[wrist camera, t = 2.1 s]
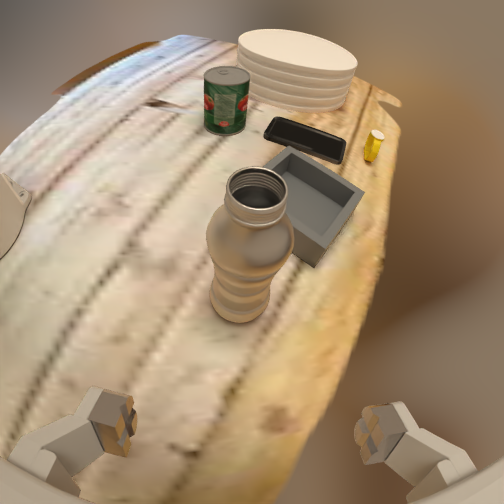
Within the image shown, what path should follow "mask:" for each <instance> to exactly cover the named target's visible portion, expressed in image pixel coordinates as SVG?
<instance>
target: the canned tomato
mask: <svg viewBox="0 0 504 504" xmlns="http://www.w3.org/2000/svg"><path fill="white" fill-rule="evenodd" d="M250 78H251V76H250V73H249V72H248V71H246V70H245V69H242V68H239V67H234V66H219V67H214V68H211V69H209V70H207V71H206V72H205V73H204V126H205V128H206V129H207V130H208V131H209V132H211V133H213V134H216V135H221V136H230V135H235V134H237V133H239V132H241V131H242V130H243V129H244V128H245V125H246V123H245V122H246V112H247V104H248V94H249V85H250Z"/></svg>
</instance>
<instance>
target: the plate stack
mask: <svg viewBox="0 0 504 504" xmlns="http://www.w3.org/2000/svg"><path fill="white" fill-rule="evenodd" d="M236 67H239V68H242V69H245V70H246V71H248V72H249V73H250V76H251V78H250V85H249V94H248V96H250V97H252V98H254V99H256V100H258V101H260V102H263V103H265V104H268V105H271V106H274V107H278V108H282V109H286V110H291V111H298V112H308V113H321V112H329V111H333V110H336V109H338V108H340V107H341V106H342V105H343V104H344V102H345V99H346V95H347V93H348V90H349V87H350V84H351V81H352V78H353V75H354V71H355V69H356V67H357V60H356V59H355V57H354V56H353V55H352V54H351V53H350V52H348V51H347V50H345V49H344V48H342V47H340V46H338V45H337V44H335V43H332V42H330V41H328V40H325V39H322V38H319V37H317V36H313V35H310V34H306V33H301V32H296V31H289V30H280V29H262V30H254V31H250V32H246V33H244V34H242V35H241V36H240V37H239V39H238V50H237V65H236Z"/></svg>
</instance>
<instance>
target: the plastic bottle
mask: <svg viewBox="0 0 504 504" xmlns="http://www.w3.org/2000/svg"><path fill="white" fill-rule="evenodd" d="M287 198H288V186H287V184H286V182H285V180H284V179H283V178H282V177H281V176H280V175H279V174H277V173H276V172H274V171H272V170H270V169H267V168H263V167H254V166H253V167H245V168H242V169H239V170H237V171H236V172H234V173H233V174H232V175H231V176H230V177H229V179H228V182H227V185H226V194H225V198H224V204H223V205H222V206H220V207H219V208H218V209H217V210H216V211H215V213H214V214H213V216H212V218H211V220H210V222H209V224H208V227H207V231H206V240H207V246H208V250H209V253H210V256H211V259H212V262H213V264H214V271H215V274H214V278H213V280H212V283H211V287H210V300H211V303H212V305H213V307H214V309H215V310H216V311H217V313H218V314H219V315H220V316H221V317H223V318H224V319H226V320H228V321H231V322H236V323H244V322H248V321H251V320H253V319H255V318H256V317H258V316H259V315H261V313H262V312H263V311H264V310H265V309H266V307H267V305H268V303H269V298H270V284H271V281H272V279H273V278H274V276H275V274H276V273H277V272H278V271H279V270H280V268H281V267H282V266H283V265H284V264H285V262H286V261H287V259H288V258H289V256H290V254H291V253H292V250H293V247H294V231H293V225H292V223H291V220H290V218H289V217H288V215H287V214H286V213H285V211H286V205H287V204H286V201H287Z"/></svg>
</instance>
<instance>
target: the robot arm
mask: <svg viewBox="0 0 504 504" xmlns="http://www.w3.org/2000/svg"><path fill="white" fill-rule="evenodd" d="M30 200H31V195H30V193H29V192H28V191H26V190H25V189H24V188H22V187H21V186H20V185H18V184H17V183H16V182H15V181H13V180H12V179H11V178H10V177H8V176H7V175H6V174H4V173H3V174H0V258H1V257H2V256H3V255H4V254H5V253H6V252H7V251H8V250H9V248H10V247H11V246H12V244H13V243H14V241H15V239H16V238H17V236H18V234H19V232H20V229H21V226H22V223H23V219H24V214H25V210H26V208H27V206H28V204H29V202H30ZM133 405H134V401H133V397H132V396H130V395H126V394H122V393H118V392H114V391H111V390H107V389H103V388H99V387H96V386H92V387H90V388H89V390H88V391H87V393H86V395H85V396H84V398H83V399H82V401H81V403H80V405H79V406H78V408H77V410H76V411H75V413H74V415H71V414H69V415H67V416H65V417H63V418H61V419H58V420H56V421H54V422H52V423H50V424H48V425H46V426H43V427H41V428H39V429H37V430H34V431H32V432H30V433H28V434H25V435H23V436H21V438H20V439H19V441H18V443H17V444H16V446H15V447H14V449H13V451H12V452H11V454H10V455H9V457H8V459H7V460H5V459H4V458H2V457H1V456H0V504H95V503H93V502H90V501H87V500H85V499H82V498H79V494H80V491H81V490H80V488H79V486H78V485H77V484H76V483H75V481H74V480H73V479H72V477H73V476H74V475H75V474H77V473H78V472H80V471H81V470H82V469H84V468H85V467H86V466H88V465H89V464H91V463H92V462H93V461H95V460H96V459H97V458H99V457H100V456H101V455H103V454H104V452H106V453H110V454H114V455H118V456H122V457H126V458H127V455H128V452H129V449H130V446H131V442H130V439H129V438H130V437H132V436H133V435H134V434H135V431H136V427H137V413H136V411H135V410H134V409H133V408H132V407H133ZM362 416H363V418H361V419H360V420H359V421H357V424H356V426H355V431H354V435H355V440H356V443H357V444H358V445H360V446H361V447H362V449H361V451H360V453H361V456H362V459H363V461H364V464H365V465H368V464H373V463H378V462H383V461H385V463H386V464H387V465H388V466H390V467H391V468H392V469H393V470H394V471H396V472H397V473H398V474H399V475H400V476H401V477H403V478H404V479H405V480H406V481H408V482H409V483H410V484H412V485H413V486H414V487H415V488H414V489H413V490H412V491H411V492H410V493H409V494H408V495H407V496H406V499H407V501H408V504H504V456H503V457H501V458H500V459H498V460H497V461H495V462H494V463H492V464H490V465H489V466H487V467H485V468H484V469H482V470H480V471H477V469H476V467H475V466H474V464H473V463H472V461H471V459H470V458H469V456H468V455H467V453H466V452H465V451H464V450H462V449H461V448H459V447H456V446H454V445H453V444H451V443H449V442H447V441H445V440H443V439H441V438H439V437H438V436H436V435H434V434H432V433H430V432H429V431H426V430H425V429H423V428H421V429H419V427H418V426H417V424H416V422H415V421H414V419H413V417H412V416H411V414H410V412H409V411H408V410H407V408H406V406H405V404H404V403H403V402H401V401H400V402H394V403H387V404H381V405H374V406H367V407H365V408H364V410H363V412H362Z"/></svg>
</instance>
